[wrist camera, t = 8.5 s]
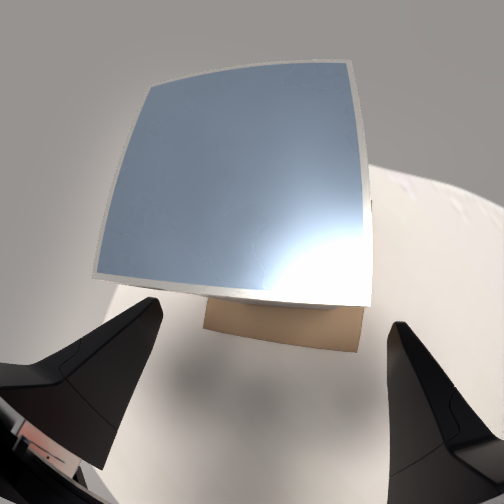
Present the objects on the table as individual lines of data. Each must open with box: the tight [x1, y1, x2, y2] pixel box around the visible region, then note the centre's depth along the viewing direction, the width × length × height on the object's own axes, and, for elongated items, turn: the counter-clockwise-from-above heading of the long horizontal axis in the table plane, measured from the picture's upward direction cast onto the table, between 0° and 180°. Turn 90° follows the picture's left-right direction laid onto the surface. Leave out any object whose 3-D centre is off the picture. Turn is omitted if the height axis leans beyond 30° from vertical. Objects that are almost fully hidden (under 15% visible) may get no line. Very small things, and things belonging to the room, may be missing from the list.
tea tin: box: [92, 59, 372, 310], centre depth 11 cm, size 6×6×12 cm
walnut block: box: [203, 200, 372, 353], centre depth 19 cm, size 10×10×3 cm
